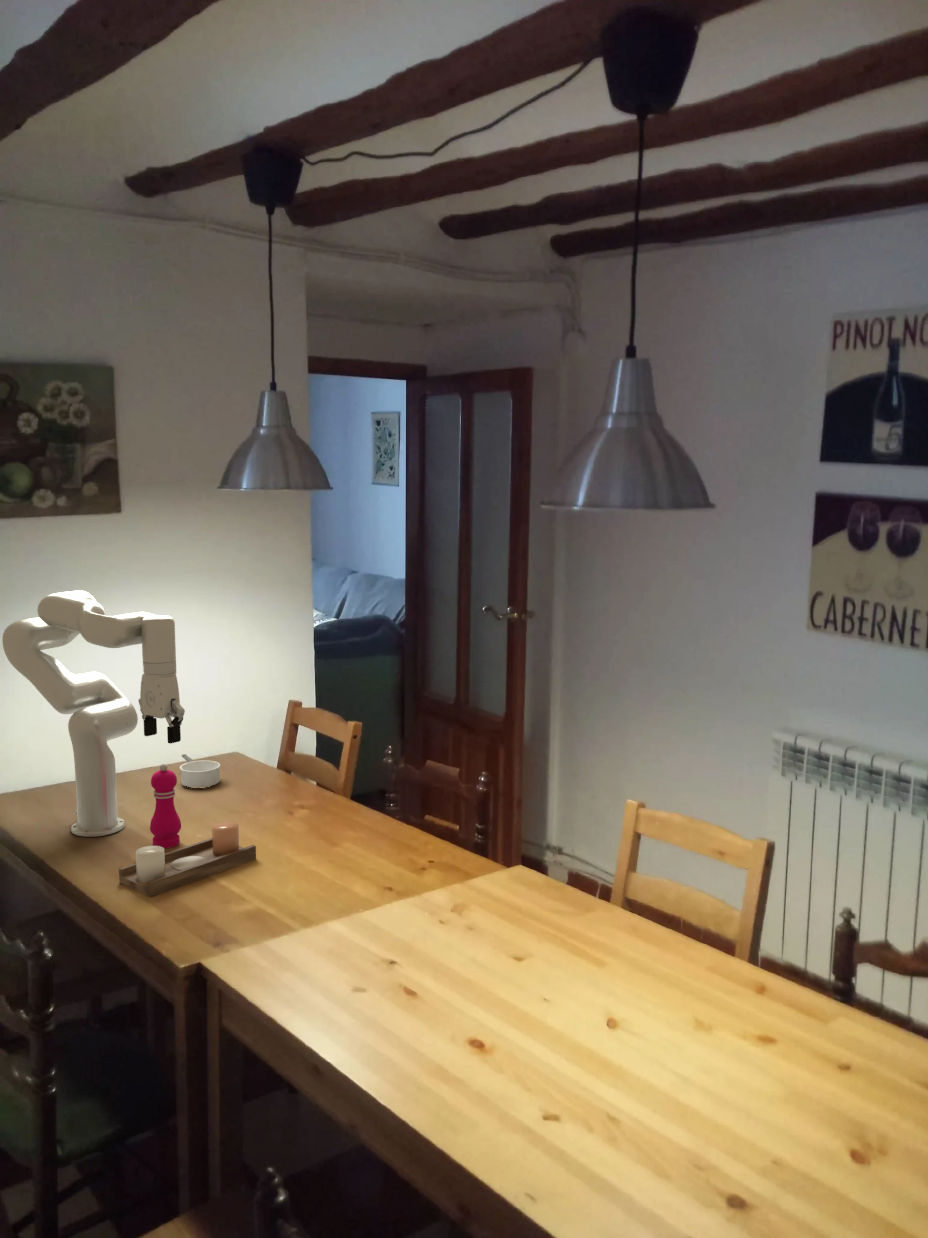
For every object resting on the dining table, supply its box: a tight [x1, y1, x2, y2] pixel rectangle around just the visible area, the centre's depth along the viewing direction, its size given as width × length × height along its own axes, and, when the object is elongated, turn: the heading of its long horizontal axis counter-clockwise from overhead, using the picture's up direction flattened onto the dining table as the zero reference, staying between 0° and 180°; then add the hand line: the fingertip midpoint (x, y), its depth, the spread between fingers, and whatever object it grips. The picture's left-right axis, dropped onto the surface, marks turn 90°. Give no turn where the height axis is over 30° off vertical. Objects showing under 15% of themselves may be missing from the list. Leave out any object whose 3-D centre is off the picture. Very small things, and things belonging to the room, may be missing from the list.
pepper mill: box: [149, 763, 182, 850], centre depth 240 cm, size 7×7×20 cm
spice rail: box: [118, 837, 257, 898], centre depth 225 cm, size 12×28×3 cm, turn 141°
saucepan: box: [179, 753, 221, 788], centre depth 291 cm, size 12×20×6 cm, turn 34°
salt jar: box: [135, 845, 165, 883], centre depth 217 cm, size 6×6×6 cm
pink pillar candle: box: [211, 821, 240, 856], centre depth 233 cm, size 6×6×6 cm
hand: (162, 738), depth 238 cm, fingers open, 9 cm apart
